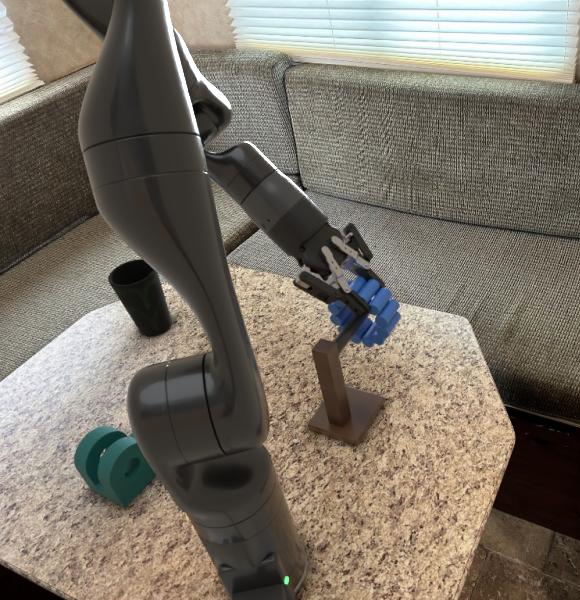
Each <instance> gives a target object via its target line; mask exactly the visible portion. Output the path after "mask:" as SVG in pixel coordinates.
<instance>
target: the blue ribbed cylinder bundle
mask: <svg viewBox="0 0 580 600" xmlns="http://www.w3.org/2000/svg"><path fill="white" fill-rule="evenodd" d="M346 282H347V283H348V285H349V286H350V288H351V291H352V290H355V291H356V292H357V293H358V294H359V295H360V296H361V297H362V298H363V299H364V300H365V301H366V302H367V303H369V302H370V300H371V299H372V300H371V302H370V303H369V305H370V306H371V311H370V312H369V313H370V314H371V316H374V321H373V320H372V319H371V318H369V316H368V317H367V319H366V320H365V321H364V323H363V324H362V325H361V327H360V328H359V329H358V331H357V332H356V333H355V335H354V336H353V337H352V339H351V340H350V341H351V342H352V343H353V344H355V345H360V344H361V343H362V345H363V346H365V347H366V348H372V347H374V345H376V346H382V345H384V343H385V342H386V340H387V339H388V338H389V336H390V335H391V333H392V332H393V330H394V329H395V328H396V326H397V324H398V323H399V322H400V320H401V319H402V316H401V313H400V312H399V311H398V310H399V309H400V308H401V307H400V303H399V301H398V300H397V299H395V298H392V296H393V292H392V291H391V290H390V289H389V288H388V287H387V288H381V289H380V284H379V283H378V282H377V281H376V280H374V279H370V280H369V281H368V282H367V281H366V280H365V279H364V278H363V277H360V276H355V278H354V279H353V280H352V279H346ZM379 289H380V290H379ZM378 290H379V291H378ZM377 291H378V293H377ZM376 293H377V294H376ZM375 294H376V295H375ZM327 310H328V312H329V313H331V315H330V316H329V320H330V322H331V323H332V324H333V325H334V326H337V331H338V333H339V332H340V331H341V330H342V329H343V327H344V326H345V325H346V323H347V322H348V321H349V320H350V318H351V317H352V316H353V314H354V313H353V312H352V311H351V310H350V309H349V308H348V307H347V306H346V305H345V304H344V303H343V302H342V301H340V300H337V301H335V302H333V303H331V304H330V305H327Z"/></svg>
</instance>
